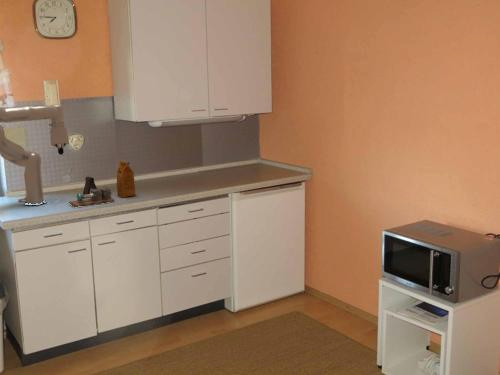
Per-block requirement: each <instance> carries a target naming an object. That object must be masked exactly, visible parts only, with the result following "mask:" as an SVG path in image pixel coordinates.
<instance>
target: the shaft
mask: <svg viewBox="0 0 500 375" xmlns="http://www.w3.org/2000/svg"><path fill="white" fill-rule="evenodd" d="M101 196H104V195H103V192H101ZM93 197H94V194H91V193H90V194H86V195H83V193H77V194H76V201H77V200H78V201H82V200H84V199H90V198H93Z"/></svg>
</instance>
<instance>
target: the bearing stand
mask: <svg viewBox="0 0 500 375" xmlns="http://www.w3.org/2000/svg"><path fill="white" fill-rule="evenodd" d="M111 190H112V189H111V188H109V187H100V188H97V189H90V194H94V197H93V198H86V199H82V201H78V200H77V199H76V200H72V201H68V204H69V203H70V204H71V205H72V206H74V207H78V206H85V207H87V206H86V205H92V206H95V205H94V204H98V205H102V204H101V203H104V204H108V203H107V202H111V203H115V202H114V201H115V199H114V198H112V191H111ZM101 192H103V195H104V196H101ZM71 205H70V206H71ZM72 206H71V207H72ZM74 207H73V208H74Z"/></svg>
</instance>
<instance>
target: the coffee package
mask: <svg viewBox="0 0 500 375" xmlns="http://www.w3.org/2000/svg"><path fill="white" fill-rule="evenodd" d="M129 165H130V162H128V161H124V160H122V159H121V160H120V162H119V165H118V168H117V171H116V172H117V173H116V191H117V196H119V197H120V198H124V197H125V198H127V197H133V196H135V195H136V185H135V173H134V171H133V170H132V168H131V167H130V166H129Z"/></svg>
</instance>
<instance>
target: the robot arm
mask: <svg viewBox="0 0 500 375" xmlns="http://www.w3.org/2000/svg"><path fill="white" fill-rule="evenodd" d="M39 120H41V121H42V120H50V123H48V126H49V127H50V129H49V130H50V131H49V132H50V146H52V147H56V148H57V153H58V154H59V156H60V155H61V156H62V155H63V156H64V148H65V147H66V146H67V145H69V140H70V139H69V133H68V129H67V126H65V120H64V110H63V105H62V104H51V105H40V106H31V105H28V106H27V105H26V106H25V105H22V106H21V105H20V106H12V107H11V106H9V107H0V123H7V124H8V123H17V122H31V121H39ZM0 157H1V158H2V159H4V160H5V161H8V162H10V163H11V164H14V165H16V166H18V167H23V168H24V172H23V177H24V178H23V179H24V185H25V186H24V188H25V196H24V198H19V199H18V203H23V204H24V203H25V202H26V203H28V204H29V203H31V204H36V203H38V204H40V203H41V202H42V203H44V202H43V201H44V200H45V199H44V192H43V191H44V190H43V180H42V172H41V171H42V170H41V169H42V158H41V156H40V154H39V153H37V152H36V151H29V150H25V148H24V147H23V146H21V145H20V144H18V143H16V142H14V141H12V140H10V139H8V138H7V137H6V134H5V129H4V127H3V126H2V124H0ZM46 201H47V200H46ZM46 201H45V202H46Z"/></svg>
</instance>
